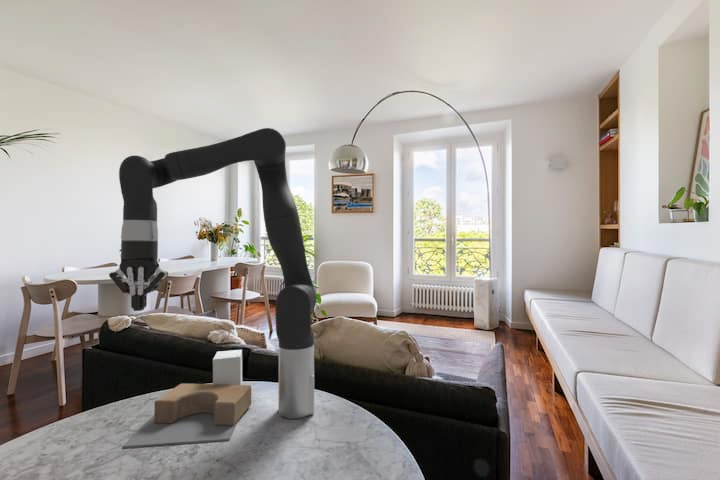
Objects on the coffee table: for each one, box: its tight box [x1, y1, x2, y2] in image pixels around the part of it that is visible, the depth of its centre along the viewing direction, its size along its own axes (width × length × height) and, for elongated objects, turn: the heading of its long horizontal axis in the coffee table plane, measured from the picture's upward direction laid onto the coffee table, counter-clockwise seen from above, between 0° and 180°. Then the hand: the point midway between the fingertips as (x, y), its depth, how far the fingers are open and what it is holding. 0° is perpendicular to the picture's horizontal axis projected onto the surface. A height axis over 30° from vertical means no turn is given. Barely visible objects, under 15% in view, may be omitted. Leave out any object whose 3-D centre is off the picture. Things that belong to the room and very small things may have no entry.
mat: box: [122, 413, 240, 449], centre depth 81 cm, size 22×16×1 cm
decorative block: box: [153, 382, 252, 426], centre depth 86 cm, size 11×6×20 cm
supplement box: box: [212, 349, 243, 385], centre depth 96 cm, size 7×7×13 cm
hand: (138, 310), depth 82 cm, fingers closed
